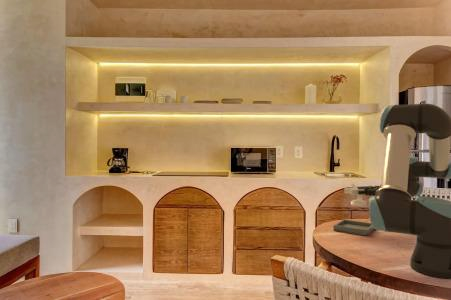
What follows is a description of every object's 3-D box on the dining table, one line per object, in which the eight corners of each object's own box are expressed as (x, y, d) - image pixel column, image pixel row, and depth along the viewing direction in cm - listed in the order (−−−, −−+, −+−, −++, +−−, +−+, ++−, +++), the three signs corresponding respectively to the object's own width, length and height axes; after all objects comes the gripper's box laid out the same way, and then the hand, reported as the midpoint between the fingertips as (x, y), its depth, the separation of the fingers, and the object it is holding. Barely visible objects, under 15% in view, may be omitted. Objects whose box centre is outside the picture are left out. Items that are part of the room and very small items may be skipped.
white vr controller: (340, 190, 166) (352, 183, 165) (355, 212, 163) (368, 204, 162) (341, 189, 159) (354, 181, 158) (356, 212, 156) (370, 203, 155)
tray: (367, 235, 152) (367, 230, 152) (333, 230, 160) (333, 225, 160) (375, 228, 164) (375, 223, 164) (343, 224, 173) (343, 219, 173)
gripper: (404, 200, 156) (359, 203, 150) (379, 194, 173) (337, 196, 167) (404, 184, 155) (359, 186, 150) (379, 179, 172) (337, 181, 167)
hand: (348, 191), depth 159 cm, fingers closed on white vr controller, 4 cm apart
